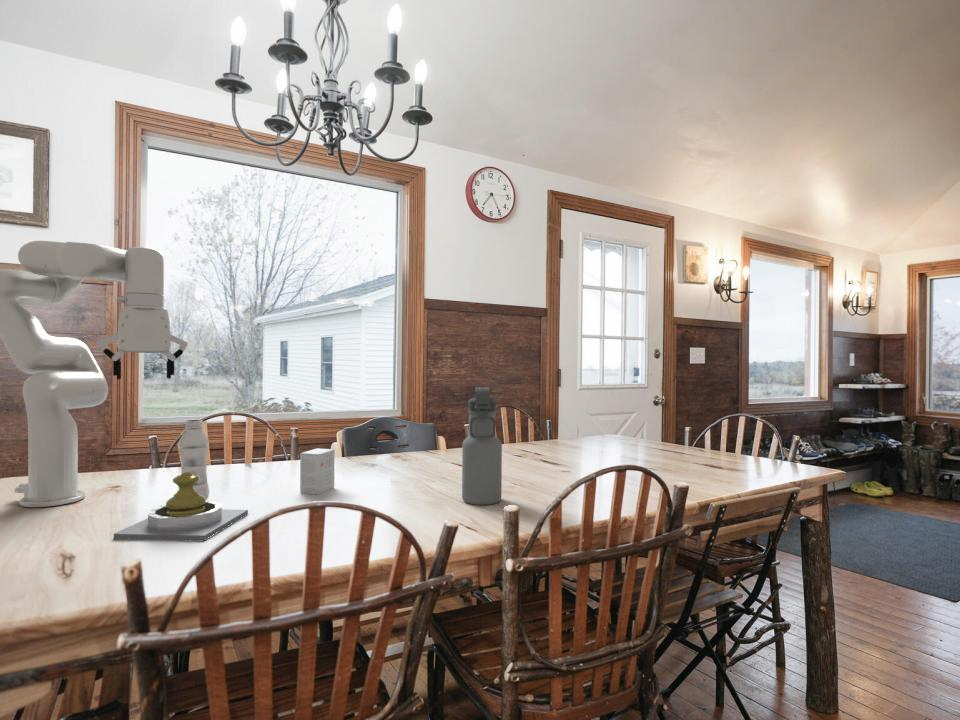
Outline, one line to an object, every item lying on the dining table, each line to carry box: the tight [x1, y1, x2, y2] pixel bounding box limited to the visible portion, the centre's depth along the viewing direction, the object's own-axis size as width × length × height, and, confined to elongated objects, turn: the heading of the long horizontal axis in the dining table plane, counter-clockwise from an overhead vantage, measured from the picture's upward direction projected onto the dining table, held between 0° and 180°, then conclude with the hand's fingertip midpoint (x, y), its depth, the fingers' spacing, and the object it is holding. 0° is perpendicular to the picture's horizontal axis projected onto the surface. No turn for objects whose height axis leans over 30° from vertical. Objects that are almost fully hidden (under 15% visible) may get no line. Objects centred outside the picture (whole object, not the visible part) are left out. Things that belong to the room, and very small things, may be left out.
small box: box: [299, 448, 335, 495], centre depth 147 cm, size 8×6×10 cm
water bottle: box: [461, 386, 503, 506], centre depth 137 cm, size 10×10×28 cm
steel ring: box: [147, 500, 223, 531], centre depth 115 cm, size 13×13×2 cm
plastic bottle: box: [178, 419, 210, 501], centre depth 133 cm, size 6×7×20 cm
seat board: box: [113, 508, 249, 542], centre depth 115 cm, size 18×18×1 cm
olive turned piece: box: [165, 472, 207, 517], centre depth 116 cm, size 7×7×10 cm
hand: (144, 378), depth 125 cm, fingers open, 9 cm apart
